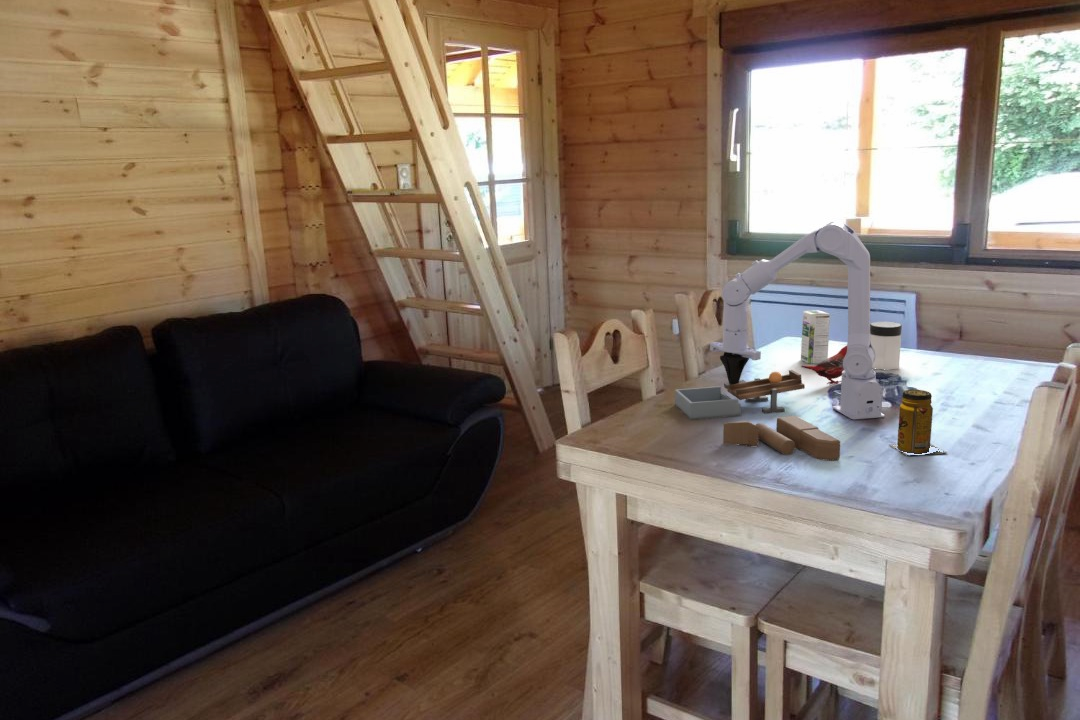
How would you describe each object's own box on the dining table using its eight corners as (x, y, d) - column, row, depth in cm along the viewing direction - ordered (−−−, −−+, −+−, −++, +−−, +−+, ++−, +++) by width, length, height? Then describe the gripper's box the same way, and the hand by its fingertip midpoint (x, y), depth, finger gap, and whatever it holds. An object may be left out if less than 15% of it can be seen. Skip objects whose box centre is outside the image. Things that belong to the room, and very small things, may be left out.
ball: (782, 371, 197) (770, 376, 197) (785, 382, 198) (774, 387, 198) (776, 368, 200) (765, 373, 200) (780, 379, 201) (768, 384, 201)
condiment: (888, 445, 171) (892, 388, 168) (927, 442, 172) (932, 386, 169) (907, 457, 164) (911, 398, 161) (948, 454, 165) (953, 396, 162)
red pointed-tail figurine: (859, 382, 218) (861, 344, 216) (803, 390, 212) (805, 352, 210) (851, 379, 221) (853, 342, 218) (796, 388, 215) (797, 350, 212)
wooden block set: (793, 409, 180) (842, 434, 163) (792, 434, 181) (841, 462, 164) (721, 417, 176) (764, 444, 159) (720, 443, 177) (763, 472, 160)
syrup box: (799, 360, 243) (801, 310, 240) (818, 358, 244) (820, 309, 241) (809, 364, 238) (811, 314, 235) (828, 362, 239) (830, 312, 236)
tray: (740, 415, 194) (740, 399, 193) (690, 419, 192) (690, 403, 191) (722, 401, 205) (722, 386, 204) (674, 405, 204) (674, 389, 203)
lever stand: (765, 398, 206) (765, 377, 205) (784, 411, 195) (785, 389, 194) (745, 400, 206) (746, 378, 204) (764, 413, 195) (765, 390, 193)
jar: (867, 362, 238) (869, 320, 235) (898, 363, 235) (900, 321, 233) (867, 369, 230) (870, 327, 227) (899, 371, 227) (902, 328, 224)
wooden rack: (783, 376, 208) (783, 364, 207) (804, 388, 197) (803, 376, 196) (722, 387, 206) (721, 375, 205) (739, 400, 195) (738, 387, 194)
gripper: (770, 331, 197) (768, 386, 201) (724, 322, 209) (723, 375, 212) (749, 335, 194) (748, 392, 197) (704, 326, 205) (703, 380, 208)
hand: (733, 383), depth 204 cm, fingers closed, pressing on wooden rack
